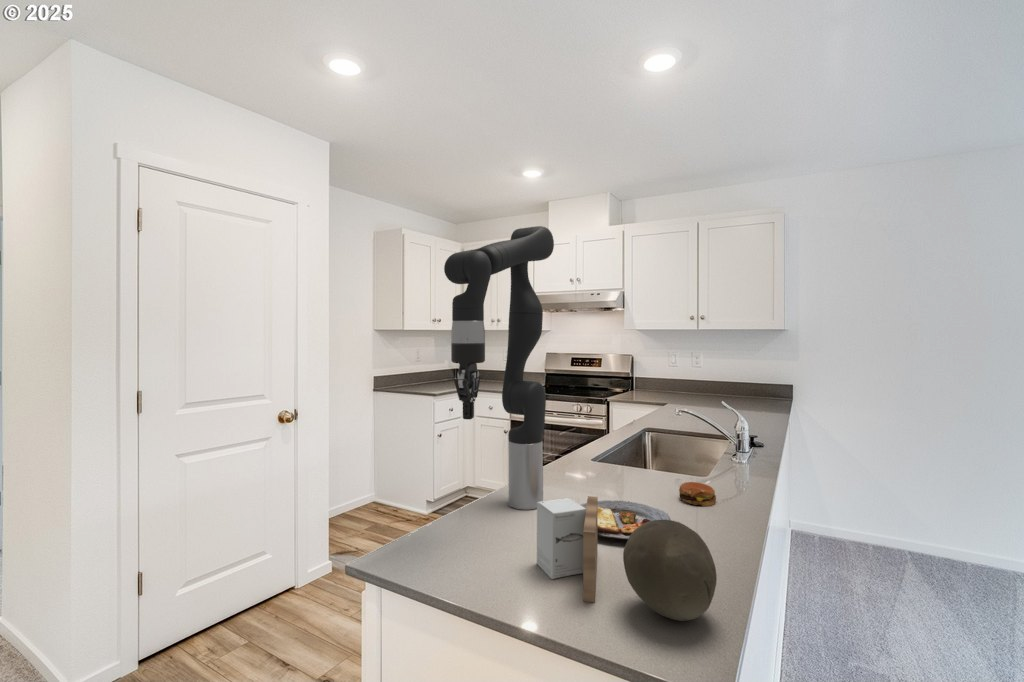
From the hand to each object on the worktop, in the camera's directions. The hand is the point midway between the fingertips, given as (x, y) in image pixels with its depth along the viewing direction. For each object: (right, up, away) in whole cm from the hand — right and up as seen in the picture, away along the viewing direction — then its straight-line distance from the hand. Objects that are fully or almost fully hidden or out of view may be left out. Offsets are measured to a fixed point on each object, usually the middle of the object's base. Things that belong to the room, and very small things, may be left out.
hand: (468, 418), depth 111 cm
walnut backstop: (+25, -27, -17) cm, 40 cm away
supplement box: (+19, -27, -14) cm, 36 cm away
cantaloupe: (+35, -28, -30) cm, 54 cm away
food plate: (+36, -27, +8) cm, 46 cm away
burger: (+61, -27, +25) cm, 71 cm away
